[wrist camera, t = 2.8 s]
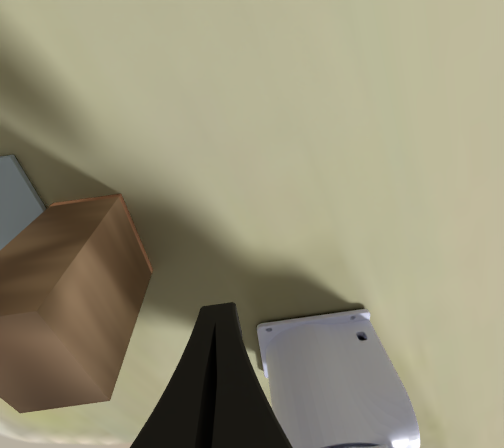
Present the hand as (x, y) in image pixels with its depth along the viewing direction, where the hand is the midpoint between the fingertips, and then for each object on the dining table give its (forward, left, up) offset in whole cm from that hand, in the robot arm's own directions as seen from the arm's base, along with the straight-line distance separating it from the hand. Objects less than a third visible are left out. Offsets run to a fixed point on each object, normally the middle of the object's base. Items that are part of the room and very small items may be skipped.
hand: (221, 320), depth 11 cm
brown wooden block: (+7, 0, -8) cm, 11 cm away
